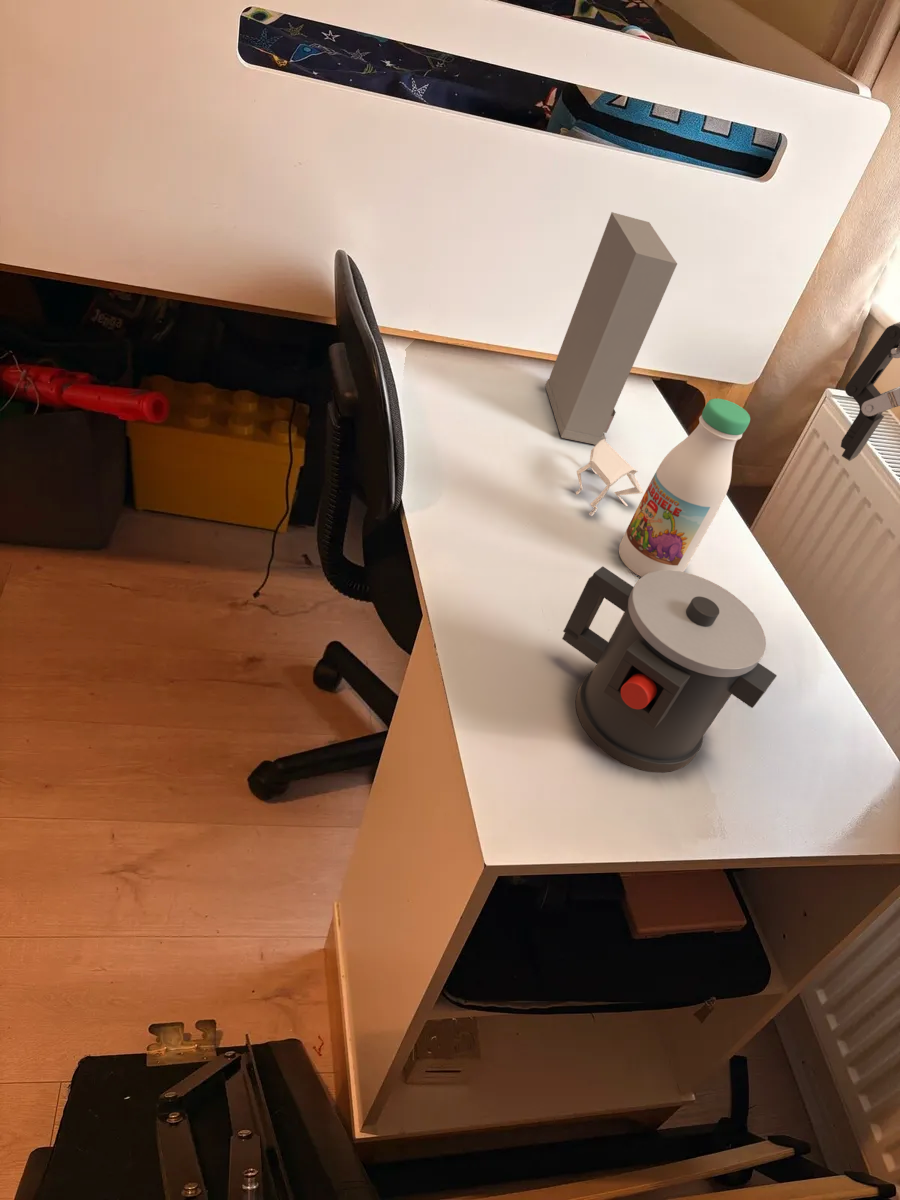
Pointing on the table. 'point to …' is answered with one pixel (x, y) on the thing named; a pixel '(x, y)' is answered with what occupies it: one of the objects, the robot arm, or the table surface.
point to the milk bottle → (685, 493)
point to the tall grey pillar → (608, 327)
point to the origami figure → (609, 471)
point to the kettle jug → (664, 664)
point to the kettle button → (638, 691)
